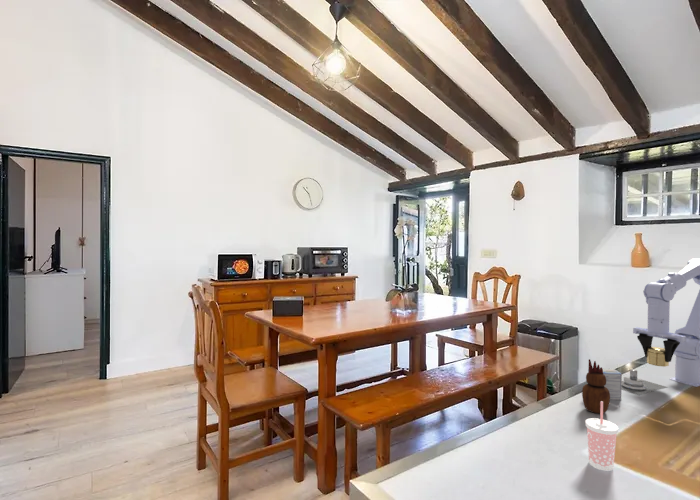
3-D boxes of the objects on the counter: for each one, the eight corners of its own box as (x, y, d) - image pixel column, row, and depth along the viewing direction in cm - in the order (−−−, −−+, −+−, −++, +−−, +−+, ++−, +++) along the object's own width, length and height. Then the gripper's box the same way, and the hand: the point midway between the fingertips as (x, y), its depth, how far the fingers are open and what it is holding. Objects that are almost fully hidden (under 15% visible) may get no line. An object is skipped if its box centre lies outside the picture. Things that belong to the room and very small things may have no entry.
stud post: (628, 381, 137) (628, 366, 137) (651, 388, 131) (651, 372, 131) (616, 385, 134) (616, 368, 134) (638, 392, 128) (638, 375, 128)
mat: (635, 378, 141) (635, 377, 141) (667, 388, 132) (667, 387, 132) (606, 385, 134) (606, 384, 134) (639, 396, 125) (639, 395, 125)
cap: (653, 360, 136) (653, 346, 136) (671, 364, 132) (671, 350, 131) (644, 362, 134) (644, 348, 134) (662, 367, 129) (662, 352, 129)
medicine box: (613, 395, 126) (614, 368, 126) (621, 401, 122) (622, 373, 121) (587, 394, 127) (587, 367, 127) (594, 400, 122) (594, 372, 122)
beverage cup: (587, 454, 91) (588, 394, 91) (619, 463, 88) (620, 400, 87) (582, 465, 87) (583, 402, 86) (616, 476, 83) (617, 410, 82)
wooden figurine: (582, 412, 114) (583, 360, 113) (581, 405, 119) (582, 355, 118) (610, 417, 110) (611, 363, 110) (608, 409, 116) (609, 358, 115)
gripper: (628, 315, 137) (627, 354, 138) (677, 323, 124) (676, 366, 125) (640, 314, 140) (639, 352, 141) (689, 321, 127) (688, 363, 128)
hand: (657, 359), depth 133 cm, fingers closed on cap, 5 cm apart
